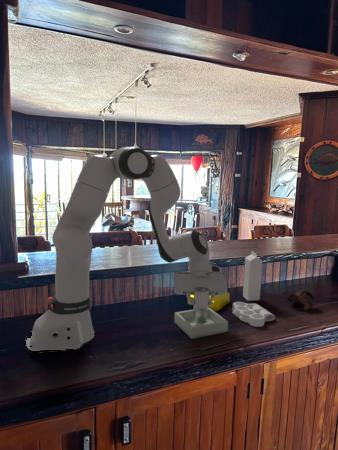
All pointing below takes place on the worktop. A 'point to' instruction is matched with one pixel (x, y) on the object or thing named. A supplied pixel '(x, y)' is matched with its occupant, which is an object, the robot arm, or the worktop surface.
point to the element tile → (217, 301)
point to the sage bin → (196, 330)
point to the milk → (252, 277)
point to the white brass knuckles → (252, 313)
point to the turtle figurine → (301, 299)
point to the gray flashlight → (201, 305)
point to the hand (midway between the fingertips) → (201, 305)
